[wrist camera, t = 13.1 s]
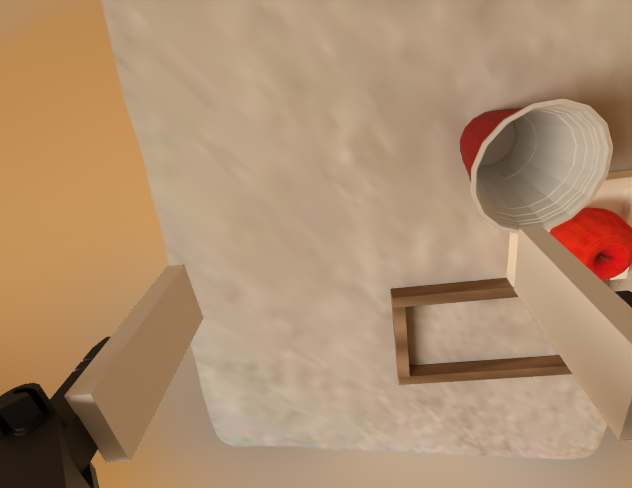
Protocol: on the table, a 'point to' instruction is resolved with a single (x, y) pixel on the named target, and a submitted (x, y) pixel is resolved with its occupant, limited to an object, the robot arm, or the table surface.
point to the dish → (614, 195)
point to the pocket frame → (462, 369)
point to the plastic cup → (536, 163)
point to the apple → (597, 241)
